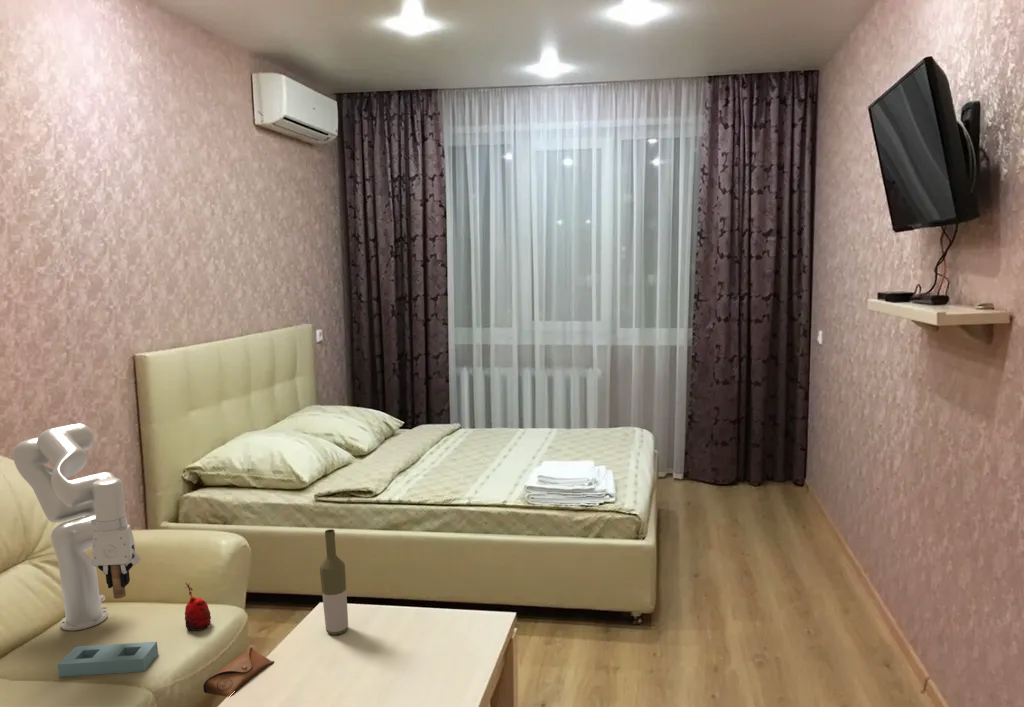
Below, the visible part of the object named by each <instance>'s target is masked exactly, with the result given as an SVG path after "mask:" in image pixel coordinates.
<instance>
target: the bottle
mask: <svg viewBox="0 0 1024 707" xmlns="http://www.w3.org/2000/svg"><path fill="white" fill-rule="evenodd" d="M324 538H325V547H326V548H325V549H326V557H325V559H324V560H323V561H322V562H321V564H320V568H319V576H320V584H321V594H322V604H323V606H322V607H323V614H324V624H325V631H326V633H328V634H329V635H333V636H334V635H340V634H343V633H346V631H348V628H349V616H348V615H349V614H348V613H349V612H348V599H347V598H348V594H347V581H346V580H347V579H346V578H347V577H346V564H345V562H344V561H343V560H342V559H341V558H339V557H338V556H337V548H336V532H335V529H333V528H332V529H326V530H325V531H324Z"/></svg>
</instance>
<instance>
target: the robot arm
mask: <svg viewBox="0 0 1024 707" xmlns="http://www.w3.org/2000/svg"><path fill="white" fill-rule="evenodd" d="M94 438H95V437H94V434H93V431H92V429H90V427H89V426H88V425H87V424H84V423H81V422H80V423H79V422H78V423H73V424H66V425H62V426H61V425H60V426H57V427H52V428H48V429H46V430H44V431H43V432H41V433H40V434H39V435H38V436H37V437H33V438H28V439H25V440H23V441H21V442H19V443H17V444H16V445H15V446H14V448H13V450H12V458H13V461H14V462H13V463H14V465H15V467H16V470H17V472H18V473H19V475H20V476H21V477H22V478H23V479H24V480H25V481H26V483H27V484H29V486H30V487H31V488H32V490H33V492H34V495H35V496H36V499H37V501H38V503H39V506H40V507H41V509H42V511H43V513H44V515H45V517H46V518H47V520H48V521H49V522H52V523H53V524H55V523H58V525H56V526H55V527H54V528H53V530H52V532H51V534H50V540H51V544H52V546H53V550H54V552H55V555H56V556H55V557H56V559H57V565H58V570H59V571H58V572H59V578H60V585H61V594H62V600H63V607H64V615H65V617H63V618H62V619H61V620H60V622H59V624H60V628H61V629H62V630H65V631H79V630H85V629H88V628H91V627H95V626H97V625H98V624H100V623H102V622H104V621H105V620H106V618H108V614H109V613H108V612H109V611H108V610H107V609H106V608H103V607H102V603H103V602H104V601H105V599H106V595H104V594H100V589H99V581H98V580H99V579H98V573H97V572H98V570H100V571H102V574H103V575H104V576H105V580H106V581H105V582H106V584H107V588H108V589H113V586H112V577H111V568H110V565H120V566H121V570H122V573H121V574H120V579H121V587H122V588H124V587H125V588H126V586H128V585H129V583H130V581H131V580H130V579H131V578H130V570H131V569H132V567H135V566H136V565H138V564H139V563H140V562H141V561H142V559H141V558H140V556H139V555H138V554H137V549H136V548H137V547H136V542H135V539H134V538H135V537H134V534H133V531H132V528H131V526H130V524H128V519H127V518H128V517H127V511H126V503H125V502H126V501H125V493H124V492H125V491H124V490H125V489H124V484H123V481H122V480H121V479H120V478H118V477H116V476H115V475H114V474H113V473H112V472H109V471H101V472H97V473H94V474H93V473H92V474H89V475H86V476H80V477H77V478H73V479H71V478H72V477H74V476H75V475H77V474H78V473H79V472H81V471H82V470H83V469H84V467H85V466H86V465H87V462H88V454H87V453H86V451H88V450H90V449H91V447H92V446H93V445H94V441H95V440H94ZM49 463H51V465H52V466H53V468H51V467H48V466H46V465H45V464H49ZM59 523H60V524H59ZM90 548H92V549H91V550H92V552H91V553H92V554H91V555H92V556H91V555H90V554H88V553H86V550H88V549H90ZM97 569H98V570H97Z"/></svg>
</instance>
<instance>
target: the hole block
mask: <svg viewBox="0 0 1024 707" xmlns="http://www.w3.org/2000/svg"><path fill="white" fill-rule="evenodd" d="M158 654H159V648H158V642H157V641H148V642H147V641H145V642H130V643H127V642H126V643H115V644H114V643H112V644H99V645H98V644H95V645H81V646H78V645H77V646H75V647H73V648H72V649H71V650H70V651H69V653H67V654H66V655H65V656H64V658H62V660H60V661H59V663H58V664H57V669H58V677H60V678H62V677H76V676H77V677H78V676H93V675H108V674H124V673H139V672H146V670H147V668H149V666H150V665H151V664H152V662H153V661H154V660H155V658H156V657H157V656H158Z"/></svg>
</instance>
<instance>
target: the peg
mask: <svg viewBox="0 0 1024 707" xmlns="http://www.w3.org/2000/svg"><path fill="white" fill-rule="evenodd" d="M110 568H111V577H112V586H113V587H112V592H113V593H112V594H113V599H117V600H118V599H122V598H125V597H126V596H127V595H126V594H127V593H126V586H125V587H124V588H122V587H121V579H120V574H121V573H122V570H121V566H120V565H110Z"/></svg>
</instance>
